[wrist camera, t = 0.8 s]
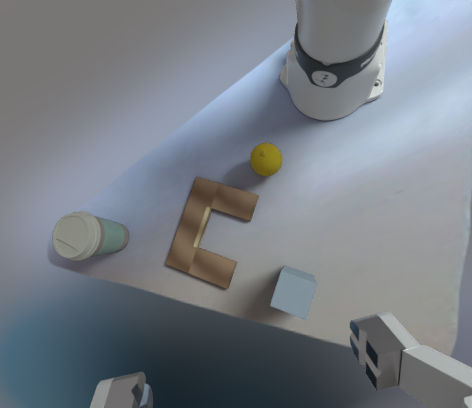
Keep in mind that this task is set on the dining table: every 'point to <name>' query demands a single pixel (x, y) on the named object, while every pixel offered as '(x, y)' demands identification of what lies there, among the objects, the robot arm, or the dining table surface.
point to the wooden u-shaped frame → (194, 225)
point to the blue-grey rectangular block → (294, 292)
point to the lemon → (266, 159)
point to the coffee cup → (87, 236)
